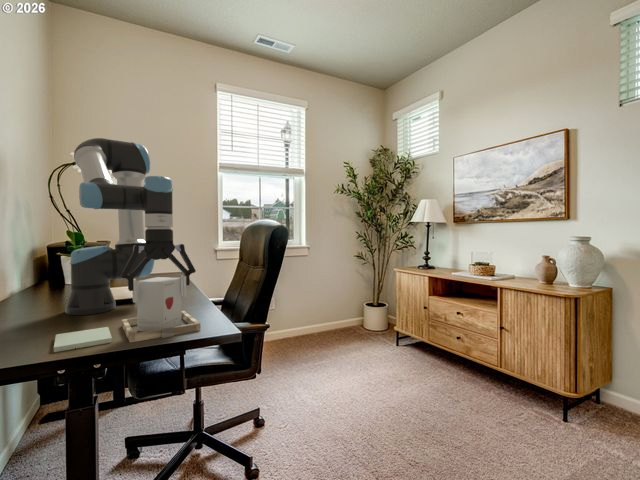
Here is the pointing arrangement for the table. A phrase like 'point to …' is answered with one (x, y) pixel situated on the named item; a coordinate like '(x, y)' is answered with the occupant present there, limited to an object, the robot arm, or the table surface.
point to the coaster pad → (82, 339)
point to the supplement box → (158, 303)
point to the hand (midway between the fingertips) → (160, 299)
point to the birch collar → (163, 332)
